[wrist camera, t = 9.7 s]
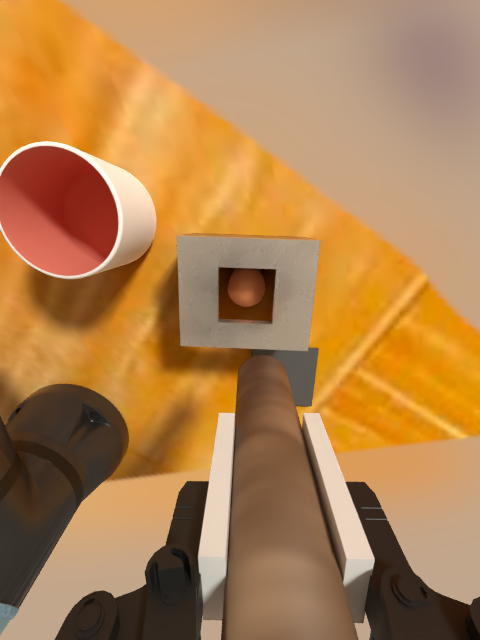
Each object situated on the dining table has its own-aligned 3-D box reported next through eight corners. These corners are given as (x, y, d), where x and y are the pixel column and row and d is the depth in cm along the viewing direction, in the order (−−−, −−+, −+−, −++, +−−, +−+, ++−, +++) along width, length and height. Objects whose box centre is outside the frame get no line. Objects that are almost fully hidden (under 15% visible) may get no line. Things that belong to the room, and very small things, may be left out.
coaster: (249, 401, 39) (249, 403, 38) (252, 345, 36) (252, 346, 36) (310, 404, 39) (311, 406, 38) (317, 348, 36) (318, 349, 36)
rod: (238, 398, 21) (213, 863, 6) (237, 354, 20) (204, 778, 5) (286, 398, 21) (392, 870, 6) (287, 354, 20) (423, 785, 5)
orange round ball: (229, 295, 34) (227, 306, 30) (230, 263, 33) (227, 268, 29) (262, 297, 34) (264, 307, 30) (264, 264, 33) (266, 270, 29)
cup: (172, 190, 31) (138, 176, 22) (144, 277, 34) (104, 298, 25) (80, 150, 30) (2, 116, 21) (60, 243, 33) (-16, 250, 24)
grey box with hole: (195, 319, 35) (180, 345, 28) (193, 233, 32) (176, 235, 25) (295, 323, 35) (308, 351, 28) (303, 236, 32) (320, 240, 24)
